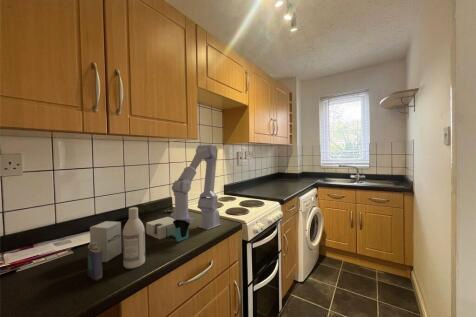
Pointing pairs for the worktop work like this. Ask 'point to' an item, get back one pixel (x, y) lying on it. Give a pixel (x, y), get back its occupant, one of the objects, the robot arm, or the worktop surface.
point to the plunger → (156, 227)
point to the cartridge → (175, 233)
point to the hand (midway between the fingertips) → (182, 235)
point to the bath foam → (133, 241)
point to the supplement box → (107, 238)
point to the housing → (159, 227)
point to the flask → (94, 262)
